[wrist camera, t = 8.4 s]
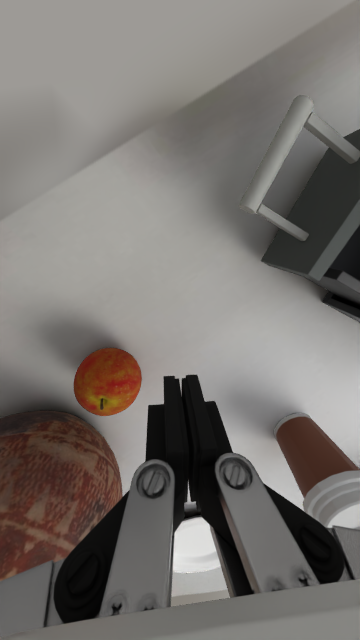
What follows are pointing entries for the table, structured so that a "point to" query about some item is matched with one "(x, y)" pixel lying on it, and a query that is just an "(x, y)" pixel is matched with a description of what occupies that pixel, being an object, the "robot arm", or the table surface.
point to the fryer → (342, 306)
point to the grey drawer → (315, 206)
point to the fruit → (107, 381)
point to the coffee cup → (320, 472)
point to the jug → (51, 487)
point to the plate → (194, 547)
